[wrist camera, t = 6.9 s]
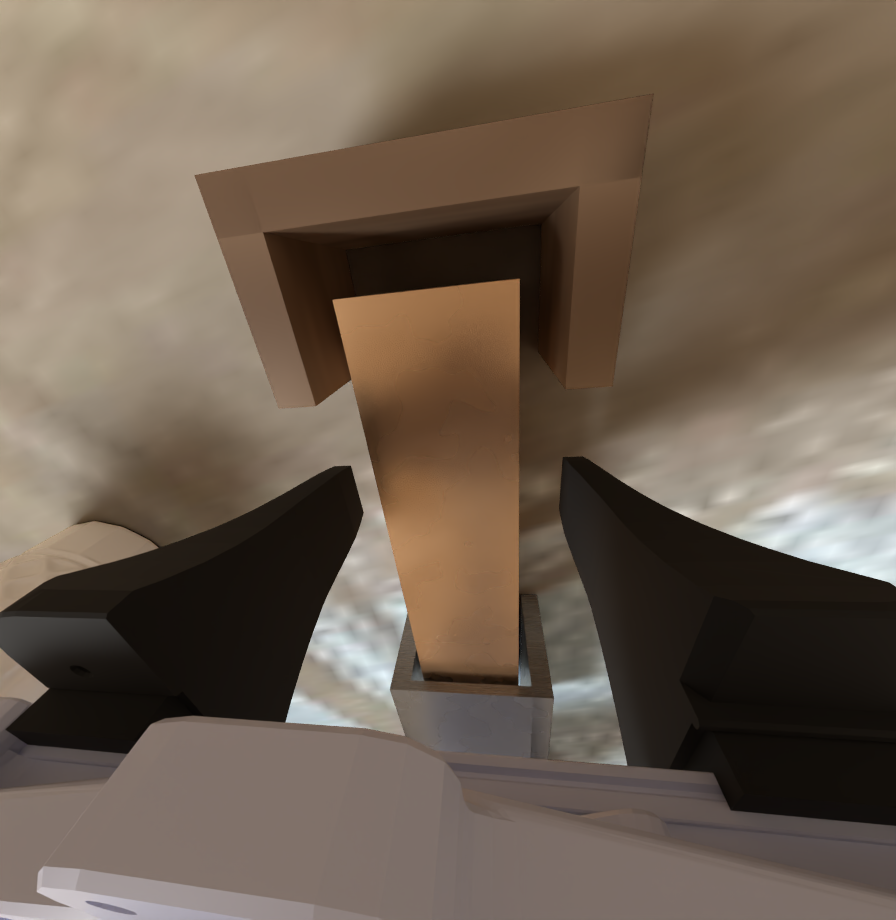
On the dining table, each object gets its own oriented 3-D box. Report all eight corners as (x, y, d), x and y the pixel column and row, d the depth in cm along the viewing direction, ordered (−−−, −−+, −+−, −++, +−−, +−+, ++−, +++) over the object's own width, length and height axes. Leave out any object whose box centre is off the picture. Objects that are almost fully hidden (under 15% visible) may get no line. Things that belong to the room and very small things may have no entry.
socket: (568, 349, 11) (612, 386, 7) (344, 367, 12) (279, 408, 8) (580, 173, 9) (653, 93, 5) (306, 215, 10) (194, 174, 6)
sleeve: (532, 689, 21) (544, 791, 17) (432, 684, 22) (420, 779, 18) (536, 594, 17) (553, 698, 13) (412, 593, 18) (389, 689, 14)
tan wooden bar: (511, 616, 18) (518, 700, 14) (438, 615, 18) (427, 694, 15) (507, 279, 10) (519, 278, 7) (382, 293, 11) (332, 299, 7)
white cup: (223, 591, 19) (10, 844, 11) (144, 620, 22) (-82, 847, 13) (107, 490, 16) (-320, 729, 8) (30, 538, 19) (-361, 760, 10)
